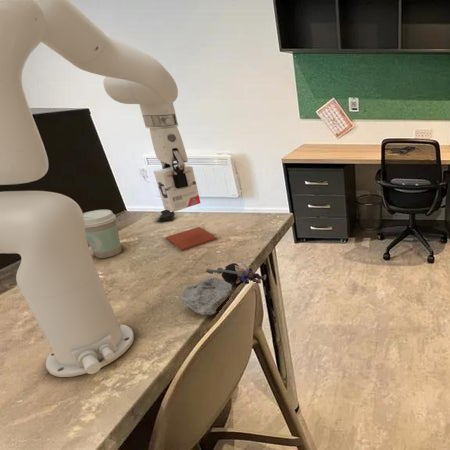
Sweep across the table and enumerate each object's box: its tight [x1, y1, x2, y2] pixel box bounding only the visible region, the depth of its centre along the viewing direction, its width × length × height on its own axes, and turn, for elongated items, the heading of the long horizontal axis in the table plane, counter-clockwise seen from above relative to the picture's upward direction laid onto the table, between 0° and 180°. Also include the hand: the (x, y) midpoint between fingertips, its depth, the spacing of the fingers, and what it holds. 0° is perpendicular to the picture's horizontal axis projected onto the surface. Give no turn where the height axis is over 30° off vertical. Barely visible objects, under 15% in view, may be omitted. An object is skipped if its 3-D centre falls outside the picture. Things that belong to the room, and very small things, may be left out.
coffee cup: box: [82, 209, 123, 259], centre depth 95 cm, size 8×8×12 cm
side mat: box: [165, 226, 217, 251], centre depth 107 cm, size 12×10×1 cm
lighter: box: [156, 209, 176, 223], centre depth 121 cm, size 8×2×5 cm
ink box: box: [153, 164, 201, 213], centre depth 100 cm, size 8×5×12 cm, turn 152°
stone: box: [180, 276, 233, 316], centre depth 76 cm, size 9×7×10 cm
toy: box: [205, 260, 267, 285], centre depth 85 cm, size 6×6×15 cm
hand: (177, 184), depth 100 cm, fingers closed on ink box, 5 cm apart
